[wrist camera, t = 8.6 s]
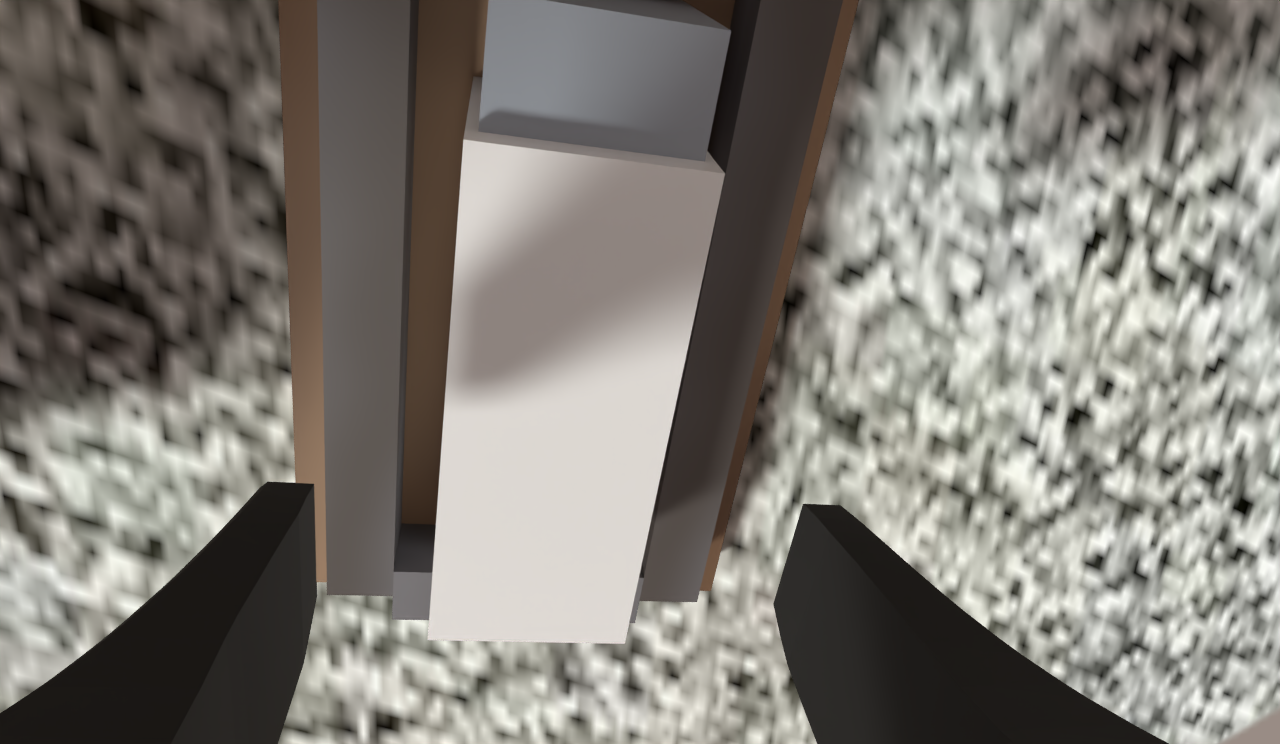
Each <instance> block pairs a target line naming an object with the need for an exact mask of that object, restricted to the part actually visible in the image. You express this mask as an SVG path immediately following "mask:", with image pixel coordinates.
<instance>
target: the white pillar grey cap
mask: <svg viewBox="0 0 1280 744" xmlns="http://www.w3.org/2000/svg"><path fill="white" fill-rule="evenodd" d="M730 35H731V30H729V29H728V28H726V27H724V26H723V25H721V24H720V23H718V22H716V21H715V20H713V19H712V18H710V17H708V16H707V15H705V14H704V13H702V12H700V11H699V10H697V9H695V8H694V7H692V6H691V5H689V4H687V3H686V2H684V1H683V0H489V1H488V14H487V26H486V39H485V52H484V64H483V77H476V76H473V82H472V89H471V95H470V101H469V107H468V114H467V120H466V126H465V132H464V139H463V151H462V165H461V179H460V193H459V207H458V222H457V236H456V250H455V264H454V278H453V292H452V306H451V320H450V334H449V348H448V362H447V376H446V390H445V404H444V418H443V432H442V446H441V460H440V474H439V488H438V502H437V516H436V530H435V544H434V558H433V572H432V586H431V601H430V615H429V629H428V640H455V641H509V642H563V643H617V644H625V640H626V636H627V631H628V626H629V621H630V617H631V612H632V607H633V603H634V598H635V593H636V589H637V584H638V579H639V575H640V570H641V565H642V561H643V556H644V551H645V547H646V542H647V537H648V532H649V528H650V523H651V518H652V514H653V509H654V504H655V500H656V495H657V490H658V486H659V481H660V476H661V472H662V467H663V462H664V458H665V453H666V448H667V443H668V439H669V434H670V429H671V425H672V420H673V415H674V411H675V406H676V401H677V397H678V392H679V387H680V383H681V378H682V373H683V368H684V364H685V359H686V354H687V350H688V345H689V340H690V336H691V331H692V326H693V322H694V317H695V312H696V308H697V303H698V298H699V294H700V289H701V284H702V279H703V275H704V270H705V265H706V261H707V256H708V251H709V247H710V242H711V237H712V233H713V228H714V223H715V219H716V214H717V209H718V205H719V200H720V195H721V190H722V186H723V181H724V176H725V173H724V172H723V170H722V169H721V168H720V167H719V165H718V164H717V163H716V161H715V160H714V159H713V158H712V156H711V155H710V154H709V152H708V151H707V149H708V144H709V139H710V134H711V129H712V124H713V119H714V114H715V109H716V104H717V99H718V94H719V89H720V84H721V79H722V74H723V69H724V65H725V60H726V55H727V50H728V45H729V40H730Z"/></svg>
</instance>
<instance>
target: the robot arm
mask: <svg viewBox="0 0 1280 744" xmlns="http://www.w3.org/2000/svg"><path fill="white" fill-rule="evenodd" d="M316 598H317V582H316V540H315V498H314V484H309V483H285V482H267V483H266V484H264V485H263V486H262V487H260V488H259V489H258V490H257V491H256V493H255V494H254V495H253V496H252V497H251V498H250V499H249V500H248V502H247V503H246V504H245V505H244V506H243V507H242V508H241V509H240V510H239V511H238V513H237V514H236V515H235V516H234V517H233V518H232V519H231V520H230V521H229V522H228V523H227V524H226V525H225V526H224V527H223V529H222V530H221V531H220V532H219V533H218V534H217V535H216V536H215V537H214V538H213V539H212V540H211V541H210V542H209V543H208V544H207V545H206V546H205V547H204V548H203V549H202V550H201V551H200V552H199V553H198V554H197V555H196V556H195V557H194V558H193V559H192V560H191V561H190V562H189V563H188V564H187V565H186V566H185V567H184V568H183V569H182V570H181V571H180V572H179V573H178V574H177V575H176V576H175V577H174V578H172V579H171V580H170V581H169V582H168V583H167V584H166V585H165V586H164V587H163V588H162V589H161V590H159V591H158V592H157V593H156V594H155V595H154V596H153V597H151V598H150V599H149V600H148V601H147V602H146V603H145V604H144V605H142V606H141V607H140V608H139V609H138V610H137V611H136V612H134V613H133V614H132V615H131V616H130V617H129V618H128V619H127V620H125V621H124V622H123V623H122V624H121V625H120V626H118V627H117V628H116V629H115V630H114V631H112V632H111V633H110V634H109V635H108V636H106V637H105V638H104V639H103V640H101V641H100V642H99V643H98V644H96V645H95V646H94V647H93V648H91V649H90V650H89V651H88V652H86V653H85V654H84V655H82V656H81V657H80V658H79V659H77V660H76V661H75V662H73V663H72V664H71V665H69V666H68V667H67V668H65V669H64V670H62V671H61V672H60V673H58V674H57V675H56V676H54V677H53V678H52V679H50V680H49V681H48V682H46V683H45V684H43V685H42V686H40V687H39V688H38V689H36V690H35V691H33V692H32V693H30V694H29V695H27V696H26V697H24V698H23V699H21V700H20V701H18V702H17V703H15V704H14V705H12V706H11V707H9V708H8V709H6V710H5V711H3V712H1V713H0V744H278V741H279V738H280V735H281V732H282V729H283V726H284V723H285V720H286V716H287V713H288V710H289V707H290V704H291V701H292V698H293V695H294V692H295V689H296V685H297V682H298V679H299V676H300V673H301V670H302V667H303V663H304V659H305V654H306V649H307V644H308V639H309V634H310V629H311V624H312V619H313V613H314V608H315V603H316ZM774 608H775V613H776V618H777V622H778V627H779V631H780V636H781V640H782V644H783V648H784V652H785V656H786V660H787V664H788V667H789V670H790V672H791V675H792V678H793V681H794V683H795V686H796V689H797V691H798V694H799V697H800V699H801V702H802V705H803V707H804V710H805V713H806V715H807V718H808V721H809V723H810V726H811V728H812V731H813V734H814V736H815V739H816V741H817V744H1168V743H1167V742H1165V741H1163V740H1161V739H1159V738H1157V737H1155V736H1153V735H1152V734H1150V733H1148V732H1146V731H1144V730H1142V729H1140V728H1139V727H1137V726H1135V725H1133V724H1131V723H1130V722H1128V721H1126V720H1124V719H1123V718H1121V717H1119V716H1118V715H1116V714H1114V713H1112V712H1111V711H1109V710H1107V709H1106V708H1104V707H1102V706H1100V705H1099V704H1097V703H1095V702H1094V701H1092V700H1090V699H1088V698H1087V697H1085V696H1084V695H1082V694H1080V693H1079V692H1077V691H1076V690H1074V689H1072V688H1071V687H1069V686H1068V685H1066V684H1064V683H1063V682H1061V681H1060V680H1058V679H1057V678H1055V677H1054V676H1052V675H1051V674H1049V673H1048V672H1046V671H1045V670H1044V669H1042V668H1041V667H1039V666H1038V665H1036V664H1035V663H1033V662H1032V661H1030V660H1029V659H1027V658H1026V657H1024V656H1023V655H1021V654H1020V653H1019V652H1017V651H1016V650H1014V649H1013V648H1012V647H1010V646H1009V645H1007V644H1006V643H1005V642H1003V641H1002V640H1001V639H999V638H998V637H997V636H995V635H994V634H993V633H992V632H990V631H989V630H988V629H986V628H985V627H984V626H983V625H981V624H980V623H979V622H977V621H976V620H975V619H974V618H972V617H971V616H970V615H968V614H967V613H966V612H965V611H963V610H962V609H961V608H960V607H958V606H957V605H956V604H955V603H954V602H952V601H951V600H950V599H949V598H947V597H946V596H945V595H944V594H943V593H941V592H940V591H939V590H938V589H937V588H936V587H934V586H933V585H932V584H931V583H930V582H929V581H927V580H926V579H925V578H924V577H923V576H922V575H920V574H919V573H918V572H917V571H916V570H915V569H914V568H912V567H911V566H910V565H909V564H908V563H907V562H906V561H904V560H903V559H902V558H901V557H900V556H899V555H898V554H896V553H895V552H894V551H893V550H892V549H891V548H890V547H889V546H887V545H886V544H885V543H884V542H883V541H882V540H881V539H880V538H878V537H877V536H876V535H875V534H874V533H873V532H872V531H870V530H869V529H868V528H867V527H866V526H865V525H864V524H862V523H861V522H860V521H859V520H858V519H857V518H855V517H854V516H853V515H852V514H850V513H849V512H848V511H847V510H845V509H844V508H843V507H842V506H840V505H817V504H803V506H802V510H801V513H800V516H799V520H798V523H797V527H796V530H795V533H794V537H793V540H792V543H791V547H790V550H789V554H788V557H787V560H786V564H785V567H784V570H783V574H782V577H781V581H780V584H779V587H778V591H777V594H776V597H775V601H774Z"/></svg>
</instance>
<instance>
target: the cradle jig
mask: <svg viewBox="0 0 1280 744" xmlns="http://www.w3.org/2000/svg"><path fill="white" fill-rule="evenodd" d="M488 1H489V0H278V6H279V34H280V61H281V89H282V117H283V145H284V173H285V200H286V228H287V256H288V284H289V311H290V339H291V367H292V395H293V423H294V450H295V478H296V483H309V484H314V498H315V540H316V582H327V595H367V596H393V612H392V619H399V620H429V615H430V601H431V586H432V572H433V558H434V544H435V530H436V516H437V502H438V488H439V474H440V460H441V446H442V432H443V418H444V404H445V390H446V376H447V362H448V348H449V334H450V320H451V306H452V292H453V278H454V264H455V250H456V236H457V222H458V207H459V193H460V179H461V165H462V151H463V139H464V132H465V126H466V120H467V114H468V107H469V101H470V95H471V89H472V82H473V76H476V77H483V64H484V52H485V39H486V26H487V14H488ZM683 1H684V2H686V3H687V4H689V5H691V6H692V7H694V8H695V9H697V10H699V11H700V12H702V13H704V14H705V15H707V16H708V17H710V18H712V19H713V20H715V21H716V22H718V23H720V24H721V25H723V26H724V27H726V28H728V29H729V30H731V35H730V40H729V45H728V50H727V55H726V60H725V65H724V69H723V74H722V79H721V84H720V89H719V94H718V99H717V104H716V109H715V114H714V119H713V124H712V129H711V134H710V139H709V144H708V149H707V151H708V152H709V154H710V155H711V156H712V158H713V159H714V160H715V161H716V163H717V164H718V165H719V167H720V168H721V169H722V170H723V172H724V173H725V176H724V181H723V186H722V190H721V195H720V200H719V205H718V209H717V214H716V219H715V223H714V228H713V233H712V237H711V242H710V247H709V251H708V256H707V261H706V265H705V270H704V275H703V279H702V284H701V289H700V294H699V298H698V303H697V308H696V312H695V317H694V322H693V326H692V331H691V336H690V340H689V345H688V350H687V354H686V359H685V364H684V368H683V373H682V378H681V383H680V387H679V392H678V397H677V401H676V406H675V411H674V415H673V420H672V425H671V429H670V434H669V439H668V443H667V448H666V453H665V458H664V462H663V467H662V472H661V476H660V481H659V486H658V490H657V495H656V500H655V504H654V509H653V514H652V518H651V523H650V528H649V532H648V537H647V542H646V547H645V551H644V556H643V561H642V565H641V570H640V575H639V579H638V584H637V589H636V593H635V598H634V603H633V607H632V612H631V617H630V621H629V623H635V620H636V615H637V610H638V605H639V601H672V602H697V599H698V595H699V591H711V588H712V584H713V580H714V576H715V572H716V568H717V564H718V560H719V556H720V552H721V548H722V544H723V540H724V536H725V532H726V528H727V524H728V520H729V516H730V512H731V508H732V504H733V500H734V496H735V492H736V488H737V484H738V480H739V476H740V472H741V468H742V464H743V460H744V456H745V452H746V448H747V444H748V440H749V436H750V432H751V428H752V424H753V420H754V416H755V412H756V408H757V404H758V400H759V396H760V392H761V388H762V384H763V380H764V376H765V372H766V368H767V364H768V360H769V357H770V353H771V349H772V345H773V341H774V337H775V333H776V329H777V325H778V321H779V317H780V313H781V309H782V305H783V301H784V297H785V293H786V289H787V285H788V281H789V277H790V273H791V269H792V265H793V261H794V257H795V253H796V249H797V245H798V241H799V237H800V233H801V229H802V225H803V221H804V217H805V213H806V209H807V205H808V201H809V197H810V193H811V189H812V185H813V181H814V177H815V173H816V169H817V165H818V161H819V157H820V153H821V149H822V145H823V141H824V137H825V133H826V129H827V125H828V121H829V117H830V113H831V109H832V105H833V101H834V97H835V93H836V89H837V85H838V81H839V77H840V73H841V69H842V65H843V61H844V57H845V53H846V49H847V45H848V41H849V37H850V33H851V29H852V25H853V21H854V17H855V13H856V9H857V5H858V2H859V0H683Z"/></svg>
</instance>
